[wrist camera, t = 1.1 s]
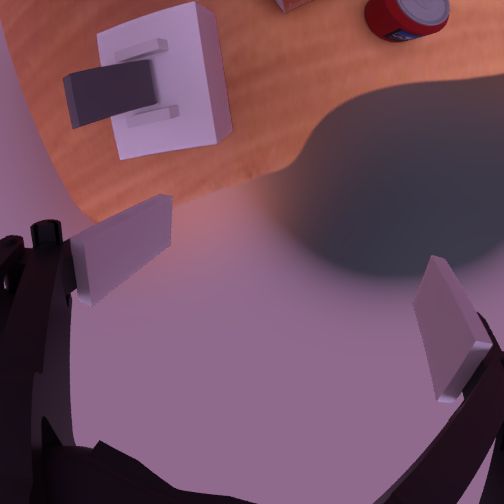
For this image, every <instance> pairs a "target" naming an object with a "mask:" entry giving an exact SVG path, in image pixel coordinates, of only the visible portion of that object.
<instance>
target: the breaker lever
mask: <svg viewBox="0 0 504 504" xmlns="http://www.w3.org/2000/svg"><path fill="white" fill-rule="evenodd" d="M63 82H64V88H65V93H66V99H67V104H68V109H69V114H70V118H71V123H72V127H73V129H75V128H78V127H81V126H84V125H87V124H90V123H93V122H96V121H99V120H102V119H105V118H108V117H111V116H115V115H118V114H121V113H125V112H128V111H132V110H136V109H139V108H143V107H147V106H151V105H155V104H156V103H158V100H157V94H156V89H155V83H154V77H153V71H152V65H151V60H149V59H147V60H139V61H132V62H126V63H120V64H114V65H108V66H103V67H98V68H93V69H88V70H84V71H80V72H75V73H71V74H69V75H67V76H66V77H64V78H63Z"/></svg>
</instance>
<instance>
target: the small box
mask: <svg viewBox="0 0 504 504" xmlns="http://www.w3.org/2000/svg"><path fill="white" fill-rule="evenodd" d="M275 1H276V2H277V4H278V5H279V6H280V8H281V9H282V11H283V12H284V13H285V14H286V13H288V12H290V11H292V10H294V9H295V8H297V7H299V6H301V5H303V4H306V3H308V2H310V1H312V0H275Z"/></svg>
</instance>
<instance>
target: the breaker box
mask: <svg viewBox="0 0 504 504" xmlns="http://www.w3.org/2000/svg"><path fill="white" fill-rule="evenodd" d="M97 42H98V49H99V56H100V62H101V67H103V66H108V65H114V64H120V63H126V62H132V61H139V60H147V59H149V60H151V65H152V71H153V77H154V83H155V89H156V94H157V100H158V103H156V104H155V105H151V106H147V107H143V108H139V109H136V110H132V111H128V112H125V113H121V114H118V115H115V116H111V122H112V126H113V131H114V135H115V140H116V144H117V148H118V152H119V157H120V160H124V159H129V158H134V157H139V156H145V155H151V154H156V153H162V152H168V151H174V150H180V149H187V148H194V147H201V146H206V145H214V144H218V143H219V142H220V141H221V140H223V139H224V138H225V137H226V136H228V135H229V134H230V133H231V132H232V131H233V129H232V122H231V116H230V109H229V102H228V96H227V89H226V83H225V76H224V69H223V63H222V56H221V49H220V43H219V36H218V30H217V23H216V16H215V14H214V13H213V12H211V11H210V10H208V9H207V8H205V7H204V6H202V5H200V4H199V3H197V2H195V1H193V2H189V3H185V4H181V5H178V6H174V7H171V8H167V9H164V10H161V11H157V12H154V13H151V14H148V15H145V16H142V17H139V18H136V19H134V20H131V21H128V22H125V23H123V24H120V25H118V26H115V27H113V28H110V29H108V30H105V31H103V32H101V33H98V34H97Z"/></svg>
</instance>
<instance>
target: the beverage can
mask: <svg viewBox="0 0 504 504" xmlns="http://www.w3.org/2000/svg"><path fill="white" fill-rule="evenodd" d="M449 11H450V5H449V1H448V0H369V1H368V3H367V5H366V8H365V16H366V20H367V23H368V25H369V26H370V28H371V29H372V30H373V31H374V32H375V33H376V34H377V35H378V36H380V37H381V38H383V39H385V40H388V41H391V42H404V41H408V40H412V39H415V38H419V37H423V36H426V35H429V34H433V33H436V32H438V31H440V30H441V29H442V28H444V26H445V25H446V23H447V21H448V18H449Z"/></svg>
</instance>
